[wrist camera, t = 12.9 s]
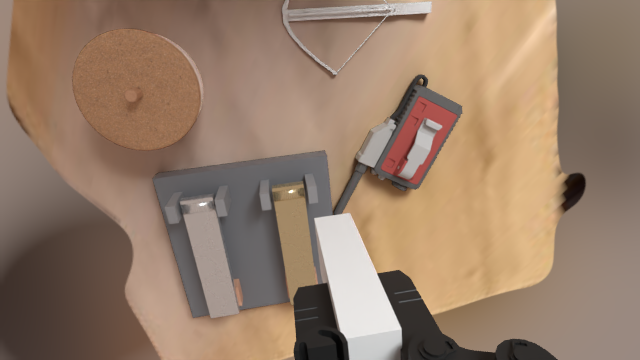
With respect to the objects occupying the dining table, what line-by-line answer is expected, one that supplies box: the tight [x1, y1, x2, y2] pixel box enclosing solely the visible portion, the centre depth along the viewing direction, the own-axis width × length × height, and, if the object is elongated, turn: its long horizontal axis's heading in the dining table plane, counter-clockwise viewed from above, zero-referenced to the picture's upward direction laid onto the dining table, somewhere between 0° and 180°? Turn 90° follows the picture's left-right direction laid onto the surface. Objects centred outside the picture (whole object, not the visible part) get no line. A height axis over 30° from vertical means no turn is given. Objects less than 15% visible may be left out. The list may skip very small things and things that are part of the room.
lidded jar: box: [72, 29, 203, 151], centre depth 35 cm, size 11×11×9 cm
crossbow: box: [282, 0, 432, 75], centre depth 39 cm, size 16×13×2 cm
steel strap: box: [180, 194, 240, 318], centre depth 43 cm, size 16×4×2 cm, turn 6°
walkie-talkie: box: [334, 75, 462, 215], centre depth 44 cm, size 9×4×20 cm
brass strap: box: [272, 181, 316, 305], centre depth 44 cm, size 16×4×2 cm, turn 6°
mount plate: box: [153, 151, 333, 318], centre depth 45 cm, size 20×20×6 cm
